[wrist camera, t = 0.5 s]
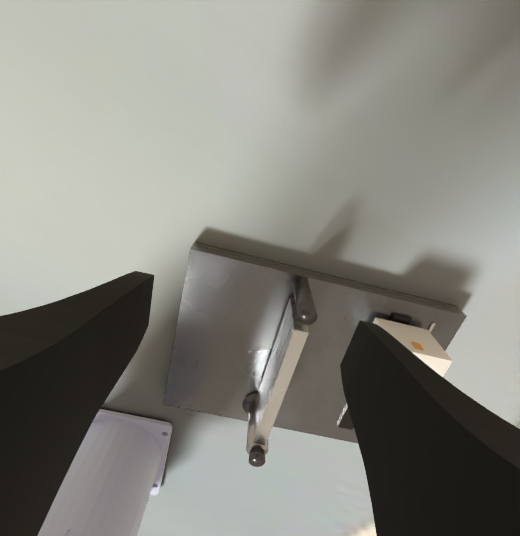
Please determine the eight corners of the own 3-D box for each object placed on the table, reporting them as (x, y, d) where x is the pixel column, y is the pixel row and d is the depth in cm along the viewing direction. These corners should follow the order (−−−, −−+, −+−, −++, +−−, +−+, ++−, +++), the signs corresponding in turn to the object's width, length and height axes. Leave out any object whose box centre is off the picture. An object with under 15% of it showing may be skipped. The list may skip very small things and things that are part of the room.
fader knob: (412, 356, 21) (433, 390, 19) (362, 345, 21) (376, 378, 18) (428, 329, 20) (452, 360, 18) (375, 316, 20) (392, 346, 17)
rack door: (265, 415, 24) (265, 458, 21) (247, 411, 24) (244, 454, 21) (306, 301, 20) (314, 334, 17) (285, 296, 20) (288, 328, 17)
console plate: (379, 435, 27) (407, 510, 22) (167, 392, 25) (141, 461, 20) (456, 306, 22) (516, 363, 16) (194, 242, 20) (169, 282, 15)
